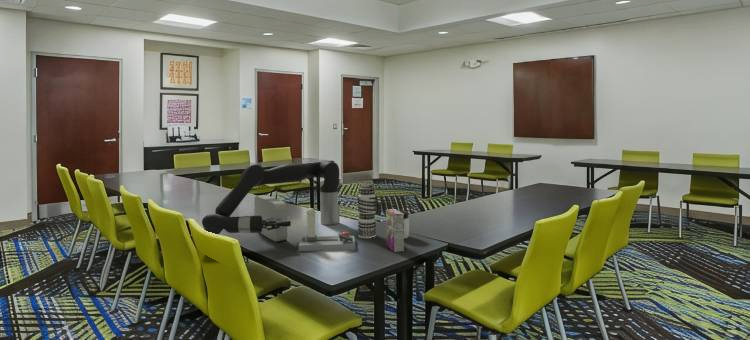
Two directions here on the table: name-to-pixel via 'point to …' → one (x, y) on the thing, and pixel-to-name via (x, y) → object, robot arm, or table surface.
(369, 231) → the decorative candle
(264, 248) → the table surface
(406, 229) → the jar
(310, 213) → the slide lever
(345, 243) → the switch console
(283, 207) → the rounded white slab
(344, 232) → the button
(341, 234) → the rocker
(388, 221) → the candy bar box
